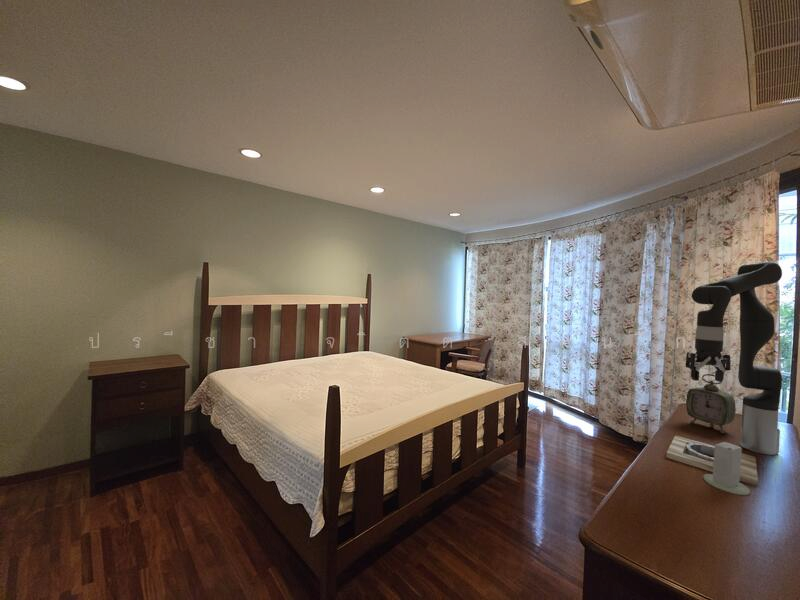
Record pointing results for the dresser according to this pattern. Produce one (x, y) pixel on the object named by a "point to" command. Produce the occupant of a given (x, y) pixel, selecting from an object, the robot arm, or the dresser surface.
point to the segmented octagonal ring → (700, 451)
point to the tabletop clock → (710, 405)
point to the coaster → (736, 489)
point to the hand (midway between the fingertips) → (706, 380)
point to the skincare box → (727, 464)
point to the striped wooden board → (677, 453)
